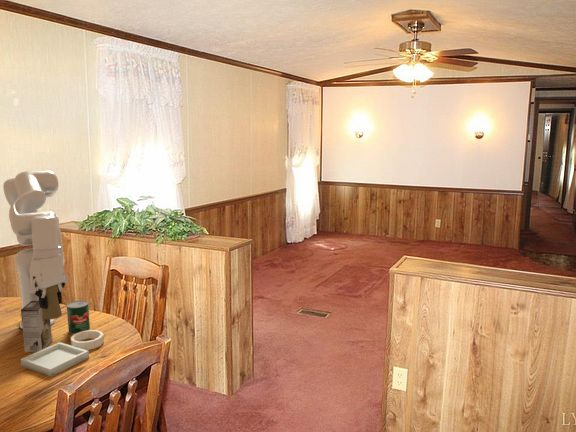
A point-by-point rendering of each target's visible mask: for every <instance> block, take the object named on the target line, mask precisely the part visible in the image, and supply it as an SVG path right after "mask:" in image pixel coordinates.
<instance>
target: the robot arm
mask: <svg viewBox="0 0 576 432" xmlns="http://www.w3.org/2000/svg"><path fill="white" fill-rule="evenodd" d="M2 186H3V187H2V188H3V193H4V196H5V198H6V201H7V203H8V204H9V207H10V208H9V210H8V212H9V213H8V217H9V219H8V220H9V222H10V227H11V230H12V232H13V233H14V235H16V239H17V242H18V244H19V245H21V246H32V248H27V249H22V250H20V251H18V252H17V253H16V254H15V257H14V261H15V266H16V269H17V273H18V274H17V275H18V278H19V285H20V286H19V287H20V293H21V294H20V297H21V306H22V309H23V308H24V307H25V306H26V305H27V304H28V303H30V302H31V301H39V305H40V308H44V309H47V308H48V302H47V297H45V294H46V288H48V287H51V286H55V285H57V286H58V293H57V296H58V300H59V304H60V305H61V304H62V300H63V297H62V293H63V291H64V288H65V285H66V284H67V283H68V281H70V280H69V279H70V278H69V277H68V276H67V275H66V272H65V253H64V246H63V245H64V244H63V238H62V237H63V236H62V231H61V227H60V219H59V216H58V215H57V213H55V212H53V211H50V210H49V211H47V210H46V211H38V209H40V208H42V207H43V206H44V205H45V203H46V202H47V201H46V200H47V198H51V197H53V196H54V195H55V194H56V193H57V191H58V190H59V180H58V176H57V175H56V173H55V172H54V171H51V170H27V171H21V172H19V173H17V174H16V176H15V177H14V178H13V177H12V178H8V179H6V180H5V181H4V182H3V185H2ZM41 290H42V292H41ZM19 317H21V318H22V316H21V313H20V314H19ZM54 323H55V319H50V324H51V326H52V325H53V324H54ZM19 329H21V330H23V326H22V321H21V322H19Z"/></svg>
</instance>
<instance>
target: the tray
mask: <svg viewBox="0 0 576 432" xmlns="http://www.w3.org/2000/svg"><path fill="white" fill-rule="evenodd" d="M89 352H90V351H89V350H84V349H81V348H77V347H74V346H71V344H67V343H65V342H60V341H59V342H56V343H54V344H52V345H50V346H47V347H46V348H45V349H43V350H41V351H38V352H34V353H32V354H30V355H27V356H25V357H22V358H21V359H20V366H21V367H23V368H25V369H28V370H31V371H35V372H37V373H40V374H42V375H45V376H47V377H53V376H55V375H57V374H60V373H62V372H63V371H65V370H67V369H69V368H71V367H73V366H75V365H77V364H79V363H81V362H83V361H85V360H88V359H89V358H90V353H89Z"/></svg>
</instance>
